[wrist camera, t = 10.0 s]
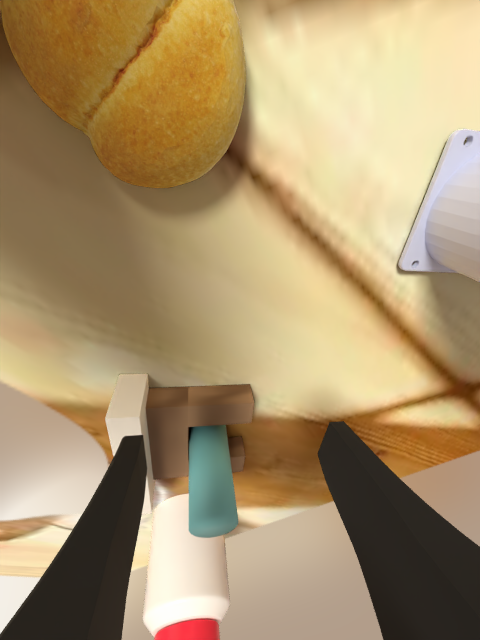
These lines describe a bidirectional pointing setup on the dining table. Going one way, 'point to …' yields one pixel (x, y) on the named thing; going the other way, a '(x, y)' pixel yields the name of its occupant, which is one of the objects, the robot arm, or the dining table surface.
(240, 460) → the block
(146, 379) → the board
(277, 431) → the dining table surface
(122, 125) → the bread roll
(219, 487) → the dowel
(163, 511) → the pill bottle
